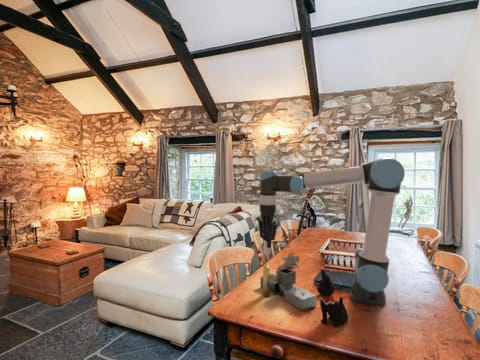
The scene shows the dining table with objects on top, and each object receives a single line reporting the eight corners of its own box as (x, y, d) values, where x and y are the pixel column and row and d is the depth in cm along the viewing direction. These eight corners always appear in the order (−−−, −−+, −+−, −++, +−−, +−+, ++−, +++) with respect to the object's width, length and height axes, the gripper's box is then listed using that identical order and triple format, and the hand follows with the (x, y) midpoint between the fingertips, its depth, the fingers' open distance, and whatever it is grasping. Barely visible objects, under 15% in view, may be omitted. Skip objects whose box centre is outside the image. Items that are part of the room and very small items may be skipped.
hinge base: (296, 295, 135) (296, 271, 135) (284, 299, 130) (285, 275, 130) (272, 283, 149) (272, 261, 148) (260, 287, 144) (260, 264, 143)
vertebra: (293, 272, 159) (287, 254, 162) (278, 275, 166) (272, 258, 168) (310, 263, 175) (304, 247, 177) (295, 266, 181) (290, 251, 184)
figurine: (313, 317, 115) (313, 268, 114) (344, 316, 116) (345, 268, 115) (320, 328, 107) (320, 276, 106) (353, 327, 109) (354, 275, 108)
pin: (270, 295, 134) (270, 266, 134) (265, 297, 133) (266, 267, 132) (266, 293, 137) (266, 264, 136) (261, 295, 135) (261, 266, 134)
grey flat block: (316, 305, 124) (316, 295, 124) (302, 310, 120) (302, 299, 120) (297, 295, 134) (297, 285, 134) (284, 299, 130) (284, 288, 130)
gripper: (283, 205, 130) (282, 256, 131) (264, 201, 140) (263, 249, 141) (271, 206, 125) (270, 259, 126) (252, 202, 136) (251, 251, 137)
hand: (266, 253), depth 134 cm, fingers closed
